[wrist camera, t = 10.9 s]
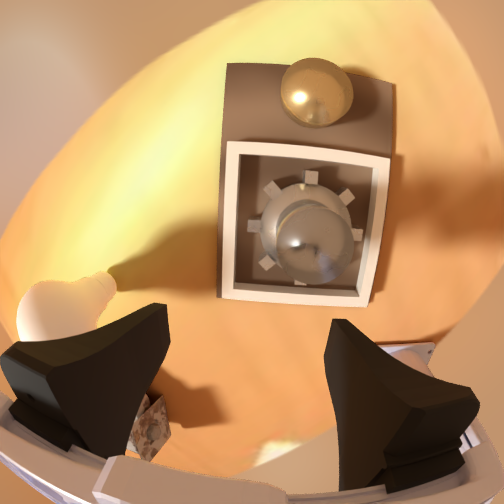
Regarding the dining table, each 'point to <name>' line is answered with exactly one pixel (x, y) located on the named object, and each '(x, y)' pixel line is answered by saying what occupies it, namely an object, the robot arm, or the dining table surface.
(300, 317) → the dining table surface
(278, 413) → the dining table surface
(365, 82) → the carrier board
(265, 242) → the planet gear
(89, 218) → the dining table surface
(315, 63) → the golden brown dome
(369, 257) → the carrier pocket
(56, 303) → the lightbulb
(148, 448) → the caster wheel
